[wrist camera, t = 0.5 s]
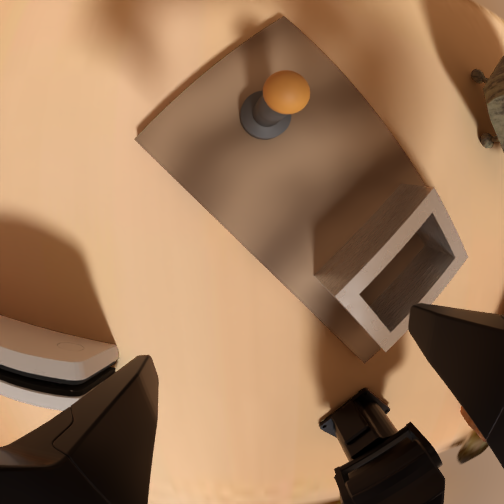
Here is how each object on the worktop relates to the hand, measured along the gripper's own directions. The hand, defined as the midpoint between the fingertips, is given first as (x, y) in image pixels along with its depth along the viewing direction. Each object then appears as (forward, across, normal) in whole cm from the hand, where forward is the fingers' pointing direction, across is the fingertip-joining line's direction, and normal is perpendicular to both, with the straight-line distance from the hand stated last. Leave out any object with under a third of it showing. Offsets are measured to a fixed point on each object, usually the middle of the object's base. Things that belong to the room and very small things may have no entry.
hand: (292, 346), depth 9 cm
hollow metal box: (+12, -11, +2) cm, 16 cm away
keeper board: (+13, -7, -3) cm, 15 cm away
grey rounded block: (+13, +20, +5) cm, 24 cm away
